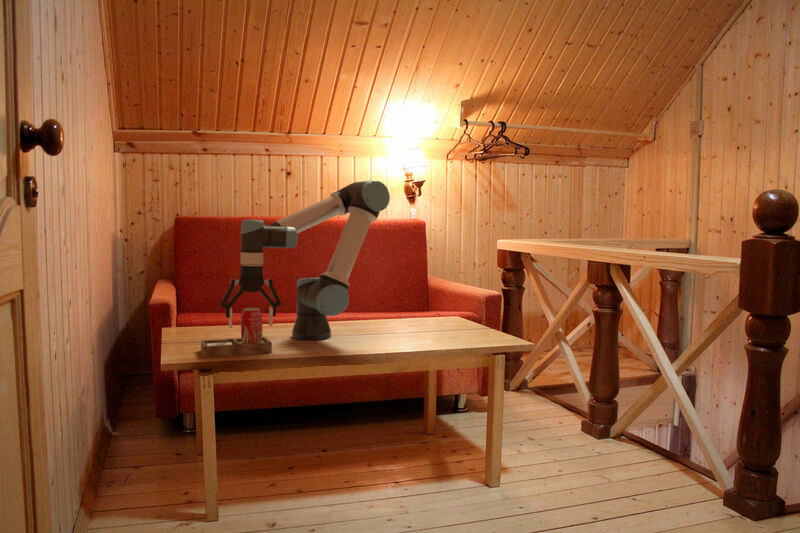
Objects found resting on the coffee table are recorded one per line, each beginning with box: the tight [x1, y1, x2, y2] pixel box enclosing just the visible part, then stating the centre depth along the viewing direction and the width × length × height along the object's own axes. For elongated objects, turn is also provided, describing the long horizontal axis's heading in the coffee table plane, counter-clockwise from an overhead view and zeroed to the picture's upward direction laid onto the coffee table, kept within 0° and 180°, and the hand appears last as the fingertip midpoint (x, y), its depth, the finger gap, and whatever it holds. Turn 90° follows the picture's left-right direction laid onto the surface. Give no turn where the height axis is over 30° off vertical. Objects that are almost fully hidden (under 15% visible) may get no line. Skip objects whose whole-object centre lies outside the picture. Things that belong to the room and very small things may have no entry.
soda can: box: [240, 307, 263, 344], centre depth 194 cm, size 7×7×12 cm
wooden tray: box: [200, 336, 273, 358], centre depth 193 cm, size 22×11×4 cm, turn 113°
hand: (250, 326), depth 194 cm, fingers open, 13 cm apart
